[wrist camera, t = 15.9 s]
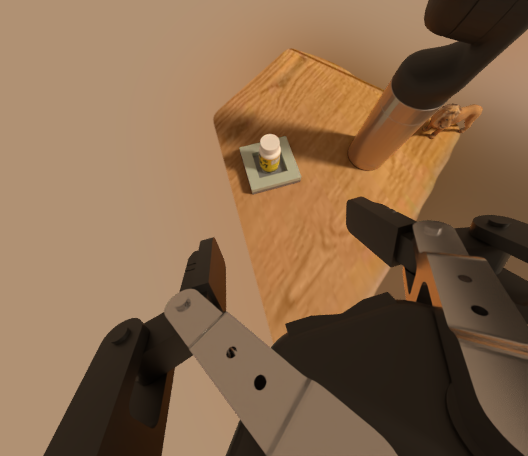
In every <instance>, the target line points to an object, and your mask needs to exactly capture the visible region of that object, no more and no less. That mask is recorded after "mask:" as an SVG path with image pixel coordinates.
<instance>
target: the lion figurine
mask: <svg viewBox="0 0 528 456" xmlns="http://www.w3.org/2000/svg"><path fill="white" fill-rule="evenodd" d="M482 110H483V108H482V107H480V106H478V105H475V104H474V105H470V106H466V107H462V108H460V106H458V105H457V104H448V105H446V106H443V107H442V108H441V109H440V110H438V111H437V112H436V113H435V114H434V115H433V116H432V117H431V121H430V124H429V125H428V126H427V127H424V128H423V131H427V130H429V129H430V128H431V127H433V128H435V129H437V130H436V131H434V132H433V133H432V134H431V135H430V136H429V138H431V139H433V138H434V137H435V136H436V135H437V134H438V133H439V132H441V131H442V130H444V129H445V128H446V127H449V126H450V125H451V124H454V123H457V122H460V121H462V120H465V122H464V123H465V127H464V128H461V129H460V130H459V132H460V133H463V132H464V131H466V130H467V129H468V128H469V127H470V126H471V125H472V123H473V121H475V120H476V119H477V118H478V117H479V115H481V113H482Z"/></svg>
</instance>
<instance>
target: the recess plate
mask: <svg viewBox="0 0 528 456" xmlns="http://www.w3.org/2000/svg"><path fill="white" fill-rule="evenodd" d="M279 141H280V148H281V153H280V162H279V168H278V170H277V171H276V172H274V173H271V174H268V173H265V172H263V171H262V170H261V168H260V161H259V146H260V143H256V144H252V145H248V146H244V147H240V153H241V157H242V160H243V163H244V167H245V170H246V174H247V177H248V180H249V184H250V187H251V191H252V194H256V193H260V192H264V191H268V190H271V189H275V188H279V187H282V186H286V185H290V184H294V183H297V182H300V180H301V174H300V172H299V169H298V166H297V164H296V161H295V159H294V156H293V153H292V151H291V148H290V145H289V143H288V140H287V137H286V136H283V137H279Z"/></svg>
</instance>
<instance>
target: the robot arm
mask: <svg viewBox="0 0 528 456" xmlns="http://www.w3.org/2000/svg"><path fill="white" fill-rule="evenodd" d="M424 21H425V26H426V27H427V29H429V30H430V31H431V32H433V33H434V34H436V35H439V36H444V37H446V38H450V39H454V40H457V41H458V42H455V43H453V44H450V45H446V46H442V47H436V48H430V49H424V50H420V51H417V52H415V53H413V54H411V55H410V56H408V57H407V58H406V59H405V60H404V61H403V62H402V64H401V65H400V67H399V68H398V70H397V71H396V73H395V75H394V76H393V78H392V80H391V81H390V83H389V84H388V86H387V87H386V89H385V91H384V92H383V94H382V96H381V97H380V99H379V100H378V102H377V104H376V105H375V107H374V108H373V110H372V111H371V113H370V115H369V116H368V118H367V119H366V121H365V123H364V124H363V126H362V127H361V129H360V131H359V132H358V134H357V135H356V137H355V138H354V140H353V142H352V143H351V145H350V146H349V149H348V157H349V159H350V161H351V162H352V163H353V164H354V165H355V166H356V167H358V168H360V169H363V170H374V169H377V168H379V167H380V166H381V165H382V164H383V163H384V162H385V161H386V160H387V159H388V158H390V157H391V156H392V155H393V154H394V153H395V152H396V151H397V150H398V149H399V148H400V147H401V146H402V145H403V144H404V143H405V142H406V141H407V140H408V139H409V138H410V137H411V136H412V135H413V134H414V133H415V132H416V131H417V130H418V129H419V128H420V127H421V126H422V125H423V124H424V123H425V122H426V121H427V120H428V119H429V118H430V117H431V116H432V115H433V114H434V113H435V112H436V111H437V110H438V109H439V108H440V107H441V106H442V105H443V104H444V103H445V102H446V101H447V100H448V99H449V98H451V97H452V96H453V95H454V94H456V93H457V92H459V91H460V90H461V89H462V88H463V87H465V86H466V85H467V84H468V83H469V82H470V81H471V80H472V79H473V78H474V77H475V76H476V75H477V74H478V73H479V72H481V71H482V70H483V69H484V68H485V67H486V66H487V65H488V64H489V63H490V62H492V61H493V60H494V59H495V58H496V57H497V56H498V55H499V54H500V53H502V52H503V51H504V50H505V49H506V48H507V47H508V46H509V45H511V44H512V43H513V42H514V41H515V40H516V39H517V38H518V37H520V36H521V35H522V34H523V33H524V32H525V31H526V30H527V29H528V0H429V1H428V4H427V7H426V10H425V16H424ZM346 225H347V229H348V230H349V232H350V233H351V234H352V235H353V236H355V237H356V238H357V239H358V240H359V241H360V242H362V243H363V244H364V245H365V246H366V247H367V248H369V249H370V250H371V251H372V252H373V253H374V254H376V255H377V256H378V257H379V258H380V259H381V260H383V261H384V262H385V263H386V264H387V265H388V266H390V267H394V266H397V265H400V264H402V265H403V271H402V272H403V280H404V286H405V295H406V300H395V299H394V298H393V297H392V296H391V295H390V294H389V293H388V292H386V293H383V294H380V295H377V296H373V297H370V298H367V299H363V300H362V301H360V302H359V303H357V304H356V305H354V306H353V307H351V308H350V309H348V310H347V311H345V312H344V313H342V314H334V315H317V316H309V317H306V318H303V319H299V320H296V321H293V322H290V323H286V324H285V325H286V328H287V333H286V334H284V335H283V336H282V337H280V338H279V339H278V340H277V341H276V342H275V343H274V344H273V346H272V347H271V348H270V347H269V346H268V345H267V344H265V343H264V342H263V341H262V340H261V339H259V338H258V337H257V336H256V335H255V334H254V333H252V332H251V331H250V330H249V329H248V328H246V327H245V326H244V325H243V324H242V323H241V322H239V321H238V320H237V319H236V318H235V317H233V316H232V315H231V314H230V313H228V312H226V267H225V262H224V258H223V256H222V254H221V251H220V249H219V246H218V244H217V242H216V240H215V238H214V237H213V238H209V239H206V240H202V241H201V242H200V246H199V251H195V252H193V253H192V255H191V256H190V257H189V259H188V263H187V267H186V270H185V273H184V277H183V281H182V285H181V289H180V292H179V293H178V294H176V295H175V296H173V297H172V298H171V299H170V301H169V302H168V303H167V305H166V307H165V310H164V312H163V313H162V314H160V315H159V316H157V317H155V318H153V319H151V320H149V321H148V322H146V323H143V322H142V321H141V320H140V319H138V318H131V319H128V320H126V321H124V322H122V323H120V324H119V325H117V326H116V327H115V328H113V329H112V330H111V331H110V332H109V333H108V334H107V336H106V337H105V338H104V339H103V341H102V343H101V345H100V346H99V348H98V350H97V352H96V354H95V356H94V358H93V360H92V362H91V364H90V366H89V368H88V370H87V372H86V374H85V376H84V378H83V380H82V382H81V383H80V385H79V387H78V389H77V391H76V393H75V395H74V397H73V399H72V401H71V403H70V405H69V407H68V409H67V411H66V413H65V415H64V417H63V419H62V421H61V422H60V425H59V426H58V428H57V430H56V432H55V434H54V436H53V438H52V440H51V442H50V444H49V446H48V448H47V450H46V452H45V454H44V456H161V455H162V448H163V442H164V435H165V429H166V422H167V416H168V409H169V403H170V396H171V390H172V383H173V376H174V370H175V367H176V366H178V365H179V364H180V363H182V362H184V361H185V360H187V359H188V358H190V357H191V356H193V355H194V357H195V358H196V359H197V360H198V362H199V363H200V365H201V366H202V368H203V369H204V370H205V372H206V373H207V375H208V376H209V377H210V379H211V380H212V381H213V382H214V384H215V385H216V387H217V388H218V389H219V391H220V392H221V394H222V395H223V396H224V398H225V399H226V400H227V402H228V403H229V405H230V406H231V407H232V409H233V410H234V411H235V413H236V414H237V415H238V417H239V418H240V421H239V423H238V426H237V428H236V431H235V434H234V436H233V439H232V441H231V444H230V446H229V449H228V451H227V454H226V456H528V325H527V324H528V281H527V280H524V279H523V278H521V277H519V276H517V275H516V274H514V273H512V272H510V271H508V270H506V269H505V268H503V267H504V266H505V264H506V262H507V261H508V259H509V258H510V256H511V255H512V256H514V257H516V258H518V259H520V260H522V261H524V262H527V263H528V224H526V223H523V222H520V221H517V220H515V219H512V218H508V217H503V216H495V215H483V216H478V217H475V218H474V219H473V222H472V224H471V226H470V227H468V228H453V227H452V226H450V225H448V224H446V223H442V222H439V221H431V220H427V221H419V222H417V221H415V220H413V219H411V218H409V217H407V216H405V215H403V214H401V213H399V212H396V211H395V210H393V209H390V208H389V207H387V206H385V205H383V204H379V203H375V202H372V201H370V200H368V199H366V198H364V197H357V198H354V199H350V200H348V201H347V206H346Z"/></svg>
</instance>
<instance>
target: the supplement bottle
mask: <svg viewBox="0 0 528 456" xmlns="http://www.w3.org/2000/svg"><path fill="white" fill-rule="evenodd" d="M280 153H281V148H280V141H279V138H278V137H277V136H276V135H273V134H266V135H264V136H263V137H262V138H261V140H260V146H259V161H260V168H261V170H262V171H263V172H265V173H268V174H271V173H274V172H276V171H277V170H278V168H279V162H280Z"/></svg>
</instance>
